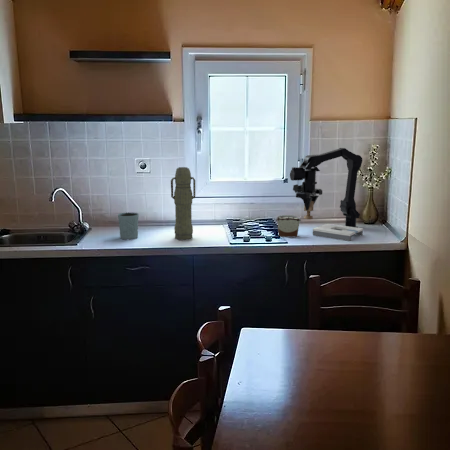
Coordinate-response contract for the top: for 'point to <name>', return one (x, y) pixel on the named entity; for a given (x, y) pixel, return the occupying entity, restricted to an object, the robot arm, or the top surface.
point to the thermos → (183, 203)
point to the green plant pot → (128, 225)
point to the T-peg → (309, 211)
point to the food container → (288, 225)
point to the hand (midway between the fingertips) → (308, 209)
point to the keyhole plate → (337, 231)
